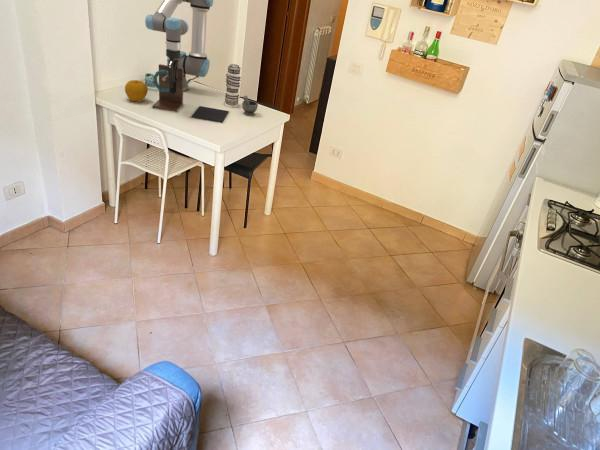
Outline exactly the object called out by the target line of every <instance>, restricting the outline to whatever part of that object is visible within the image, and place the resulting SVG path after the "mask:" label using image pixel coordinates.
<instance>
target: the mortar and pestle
mask: <svg viewBox="0 0 600 450" xmlns="http://www.w3.org/2000/svg"><path fill="white" fill-rule="evenodd" d="M242 99H243V100H242V104H241V105H242V106H241V107H242V109H243V112H244V115H246V116H255V112H257V110H258V107H259V103H258V102H257V101H254V100H249V98H248V95H244V96H243V97H242Z"/></svg>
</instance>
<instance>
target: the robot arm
mask: <svg viewBox="0 0 600 450" xmlns="http://www.w3.org/2000/svg"><path fill="white" fill-rule="evenodd" d="M182 3H188V4H190V5H189V6H190V8H191V10H192V19H191V43H190V44H191V47H190V51H189V52H188V55H187V52H186V51H181V49H182V48H181V47H182V45H181V44H182V43H181V41H182V40H181V39H182V36H184V35H186V34H187V33H188V31H189V24H188V22H187V21H186V20H184V19H181V18H180V19H179V18H178V17H177V18H176V17H172V16H173V14H174V12H175V10H176V9H177V7H178V6H179V5H181V4H182ZM213 5H214V0H162V2H161V3H160V5H159V6H158V8H157V9H156V10H155V12H154V14H146V16H145V19H144V23H145V27H146V29H147V30H150V31H153V32H154V31H156V32H161V33H165V42H164V43H165V46H166V47H165V48H166V49H165V56H166V57H167V59H166V65H167V66H168V77H169V80H168V81H170V93H174V94H175V92H176V80H177V81H178V79H177V78H178V67H179V68H183V92H185V91H186V92H187V91H188V90H189V84H188V83H189V82H190V81H194V80H195V79H199V78H205V77H207V75H208V72H209V70H210V61H211V60H210V59H209V58H208V54H206V39H207V38H206V35H207V18H208V12H209V11H210V10H211V9H210V8H212V7H213ZM186 75H189V76H192V77H193V76H194V77H193V78H190V79H187V76H186Z"/></svg>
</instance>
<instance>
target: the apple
mask: <svg viewBox="0 0 600 450" xmlns="http://www.w3.org/2000/svg"><path fill="white" fill-rule="evenodd" d="M148 89H149V88H148V85H147V84H146V83H145V82H144V81H141V80H139V79H135V80H134V79H132V80H129V81H127V82H126V84H125V86H124V92H125V95H126V97H128V99H129V100H130V101H132V103H133V102H135V103H139V102H142V101H144V99H145V98H146V96H147V94H148V91H149V90H148Z"/></svg>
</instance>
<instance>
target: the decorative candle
mask: <svg viewBox="0 0 600 450" xmlns="http://www.w3.org/2000/svg"><path fill="white" fill-rule="evenodd" d="M226 72H227V73H226V75H225V77H226V78H225V83H226V84H225V87H226V90H225V95H224V96H225V98H224V105H225V106H226V107H228V108H229V107H230V108H237V107H238V106H239V99H240V98H239V97H240V93H239V89H240V87H241V83H240V82H241V79H242V77H241V67H240V65H239V64H236V63H231V64H229V65H228V66H227V71H226Z"/></svg>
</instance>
